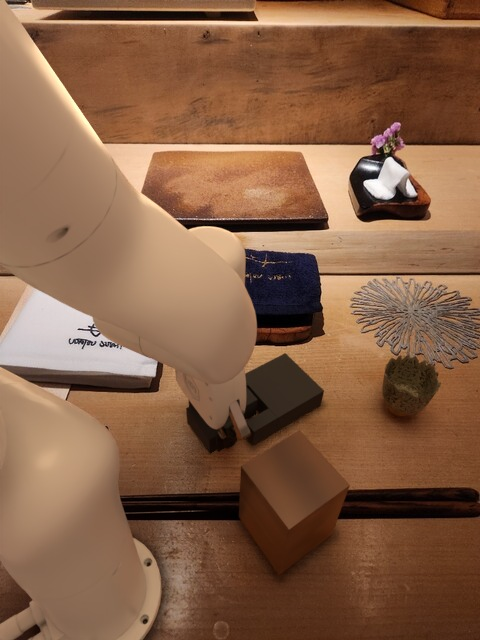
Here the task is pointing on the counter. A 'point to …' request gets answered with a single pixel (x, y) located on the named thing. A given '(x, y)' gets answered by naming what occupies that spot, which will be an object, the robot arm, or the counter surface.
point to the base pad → (280, 396)
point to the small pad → (208, 433)
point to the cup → (408, 385)
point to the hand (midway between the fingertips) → (213, 426)
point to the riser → (290, 500)
